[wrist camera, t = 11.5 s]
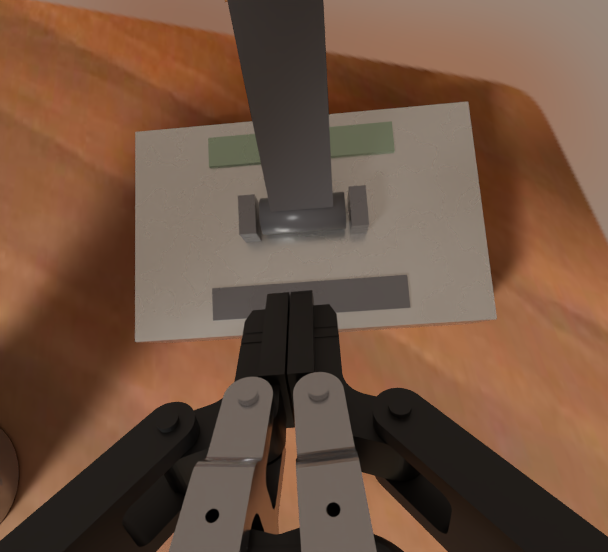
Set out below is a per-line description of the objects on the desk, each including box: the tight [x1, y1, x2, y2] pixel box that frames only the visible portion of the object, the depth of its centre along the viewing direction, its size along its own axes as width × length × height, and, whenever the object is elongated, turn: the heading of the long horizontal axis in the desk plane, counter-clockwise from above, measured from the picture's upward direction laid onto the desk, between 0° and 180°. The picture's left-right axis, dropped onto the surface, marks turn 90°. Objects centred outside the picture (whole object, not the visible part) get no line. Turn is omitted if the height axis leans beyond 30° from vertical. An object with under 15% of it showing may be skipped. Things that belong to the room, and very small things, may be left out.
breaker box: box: [135, 102, 497, 343], centre depth 30 cm, size 22×14×8 cm, turn 94°
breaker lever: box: [225, 0, 346, 235], centre depth 21 cm, size 5×2×15 cm, turn 94°
